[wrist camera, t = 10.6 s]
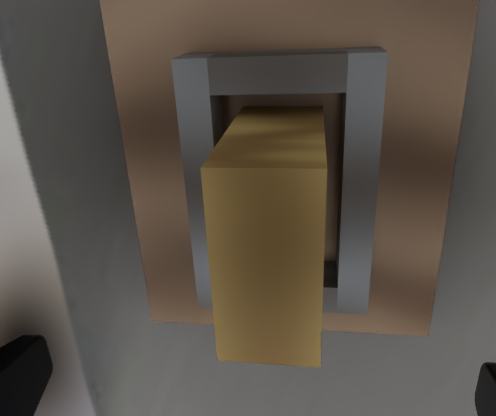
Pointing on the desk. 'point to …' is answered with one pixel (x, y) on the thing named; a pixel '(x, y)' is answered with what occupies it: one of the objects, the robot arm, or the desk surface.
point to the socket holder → (336, 136)
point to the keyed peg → (268, 235)
